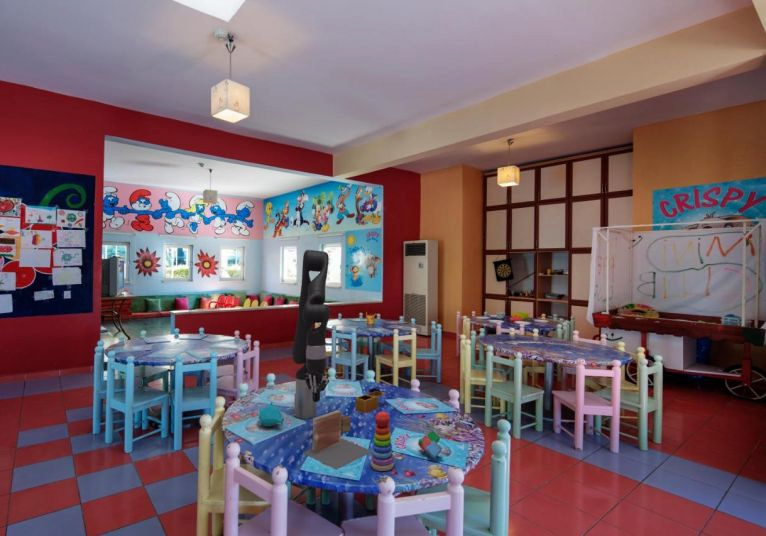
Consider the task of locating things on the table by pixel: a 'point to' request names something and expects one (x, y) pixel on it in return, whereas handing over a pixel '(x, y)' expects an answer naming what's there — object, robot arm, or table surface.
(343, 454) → the mat
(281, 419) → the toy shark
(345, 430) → the block
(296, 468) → the table surface
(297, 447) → the table surface
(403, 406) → the table surface
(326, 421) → the tile
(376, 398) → the spider toy trap
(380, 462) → the stacking toy
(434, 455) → the building blocks
